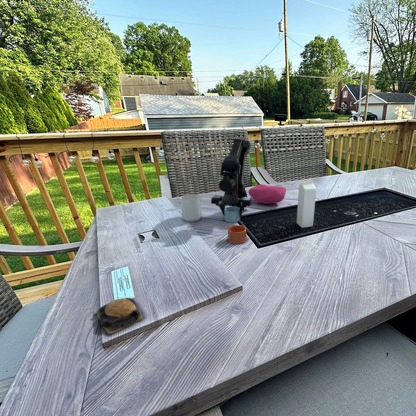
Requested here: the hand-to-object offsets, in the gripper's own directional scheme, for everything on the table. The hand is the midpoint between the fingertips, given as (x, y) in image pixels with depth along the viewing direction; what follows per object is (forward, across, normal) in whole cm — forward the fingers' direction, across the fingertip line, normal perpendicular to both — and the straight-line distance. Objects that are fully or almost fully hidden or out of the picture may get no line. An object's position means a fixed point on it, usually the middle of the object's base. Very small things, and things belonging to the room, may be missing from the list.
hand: (232, 217), depth 128 cm
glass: (+1, 0, 0) cm, 1 cm away
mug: (+1, -20, -1) cm, 20 cm away
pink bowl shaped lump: (+1, +14, +31) cm, 34 cm away
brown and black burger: (+1, -11, -67) cm, 68 cm away
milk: (+1, +36, -1) cm, 36 cm away
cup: (+1, +8, -21) cm, 23 cm away
